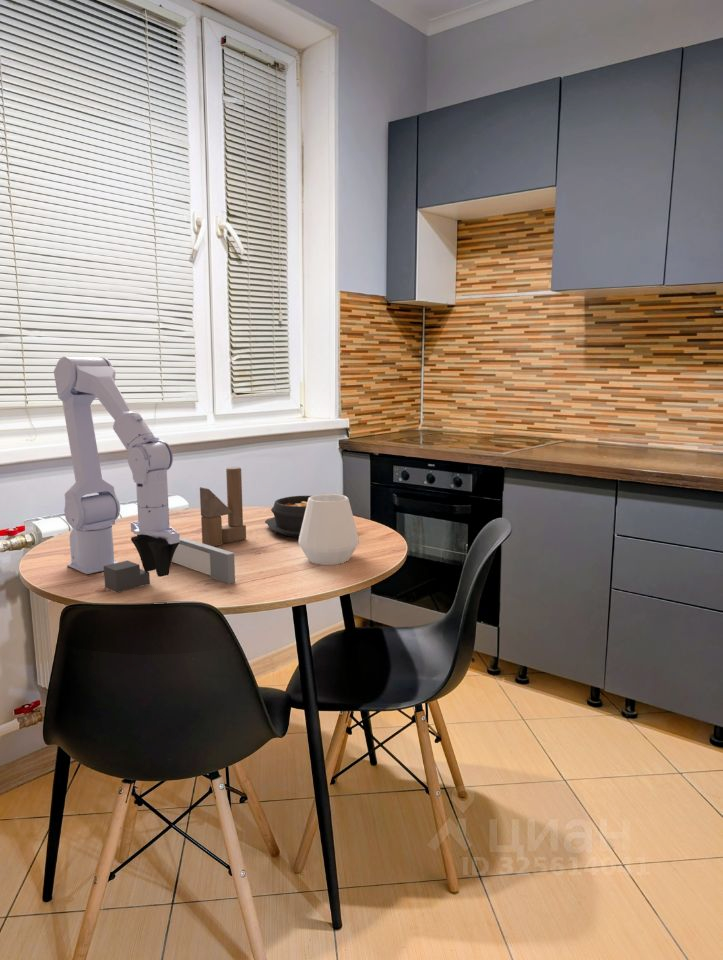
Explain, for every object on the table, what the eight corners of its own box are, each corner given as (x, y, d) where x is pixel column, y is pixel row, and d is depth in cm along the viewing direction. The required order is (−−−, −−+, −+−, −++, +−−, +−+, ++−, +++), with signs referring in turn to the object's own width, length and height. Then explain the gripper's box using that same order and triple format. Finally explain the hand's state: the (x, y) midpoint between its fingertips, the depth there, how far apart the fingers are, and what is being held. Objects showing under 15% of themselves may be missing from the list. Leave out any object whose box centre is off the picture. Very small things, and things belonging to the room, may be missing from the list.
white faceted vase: (358, 550, 156) (358, 491, 154) (359, 567, 143) (359, 503, 141) (300, 551, 156) (299, 492, 154) (296, 568, 143) (295, 503, 141)
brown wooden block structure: (201, 545, 161) (198, 471, 158) (237, 536, 169) (235, 466, 166) (210, 548, 159) (207, 472, 156) (246, 539, 167) (244, 467, 164)
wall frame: (153, 557, 151) (151, 531, 150) (159, 555, 152) (158, 530, 151) (228, 584, 132) (227, 554, 131) (235, 582, 133) (234, 552, 132)
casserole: (363, 536, 170) (363, 503, 169) (302, 548, 158) (302, 513, 157) (306, 519, 189) (305, 489, 188) (248, 529, 177) (247, 498, 176)
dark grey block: (105, 588, 130) (103, 565, 130) (137, 579, 136) (136, 558, 135) (117, 593, 127) (115, 570, 127) (150, 584, 133) (148, 562, 132)
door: (169, 560, 147) (168, 540, 146) (173, 559, 148) (172, 539, 147) (210, 575, 136) (209, 553, 136) (215, 574, 137) (214, 552, 137)
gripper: (114, 502, 131) (119, 569, 133) (154, 513, 121) (158, 585, 124) (147, 497, 136) (151, 562, 138) (188, 507, 127) (191, 577, 129)
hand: (156, 573), depth 131 cm, fingers open, 4 cm apart
